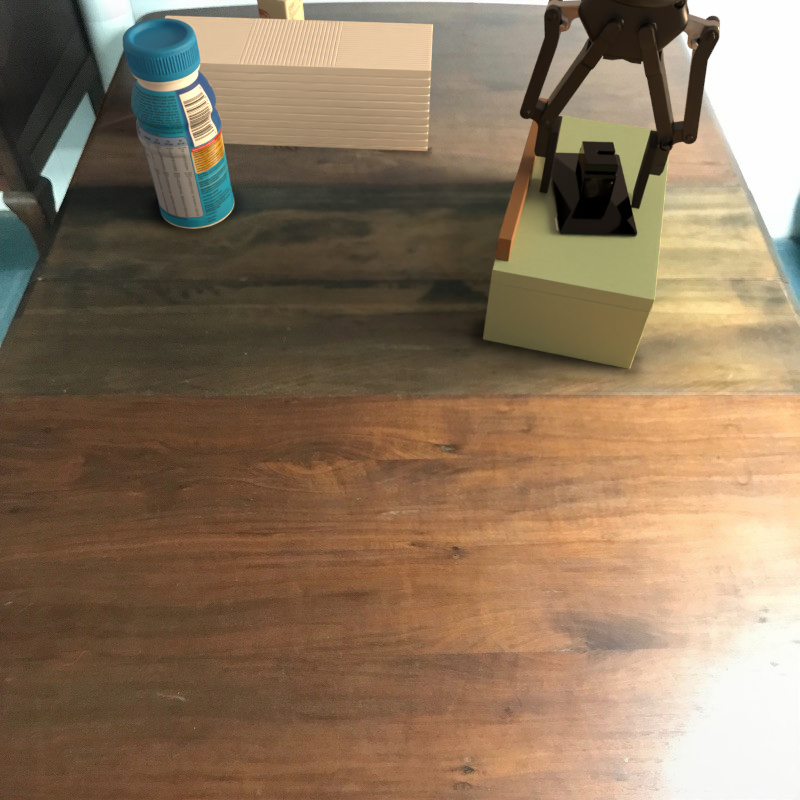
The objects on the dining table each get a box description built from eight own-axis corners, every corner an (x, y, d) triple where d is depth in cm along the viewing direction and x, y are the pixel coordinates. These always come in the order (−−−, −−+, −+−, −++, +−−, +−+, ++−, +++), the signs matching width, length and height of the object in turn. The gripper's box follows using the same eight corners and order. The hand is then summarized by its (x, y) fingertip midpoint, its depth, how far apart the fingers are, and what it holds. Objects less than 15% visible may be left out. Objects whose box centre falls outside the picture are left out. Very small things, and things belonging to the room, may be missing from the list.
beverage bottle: (160, 238, 86) (110, 60, 70) (159, 191, 91) (111, 16, 75) (239, 228, 87) (206, 52, 71) (233, 182, 92) (201, 8, 76)
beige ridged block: (429, 106, 102) (432, 23, 94) (427, 155, 96) (430, 70, 87) (184, 98, 103) (165, 15, 95) (164, 145, 96) (143, 60, 88)
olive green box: (647, 206, 90) (677, 110, 81) (628, 373, 74) (662, 278, 65) (526, 185, 92) (541, 90, 83) (482, 343, 76) (495, 248, 67)
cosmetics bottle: (280, 52, 111) (272, -23, 103) (309, 58, 110) (303, -17, 102) (264, 70, 108) (254, -6, 100) (293, 76, 107) (286, 0, 99)
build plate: (636, 238, 72) (649, 196, 68) (556, 236, 72) (565, 194, 68) (618, 156, 79) (629, 115, 76) (545, 154, 80) (553, 113, 76)
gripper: (502, -64, 57) (475, 196, 75) (803, -28, 54) (700, 235, 72) (520, -102, 62) (490, 152, 79) (798, -71, 58) (702, 187, 76)
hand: (590, 191), depth 75 cm, fingers closed on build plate, 8 cm apart
